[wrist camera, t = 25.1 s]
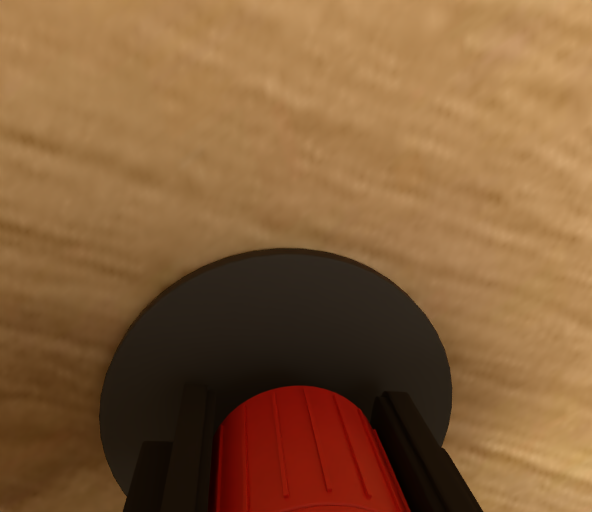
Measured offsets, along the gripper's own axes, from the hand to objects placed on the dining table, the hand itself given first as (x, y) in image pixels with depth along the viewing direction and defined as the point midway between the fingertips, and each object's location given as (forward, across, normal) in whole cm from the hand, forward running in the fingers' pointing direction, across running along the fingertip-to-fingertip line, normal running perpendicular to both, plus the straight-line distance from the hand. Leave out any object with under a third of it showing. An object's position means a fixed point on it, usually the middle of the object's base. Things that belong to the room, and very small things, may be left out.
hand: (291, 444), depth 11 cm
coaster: (+1, 0, 0) cm, 1 cm away
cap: (0, 0, 0) cm, 0 cm away
